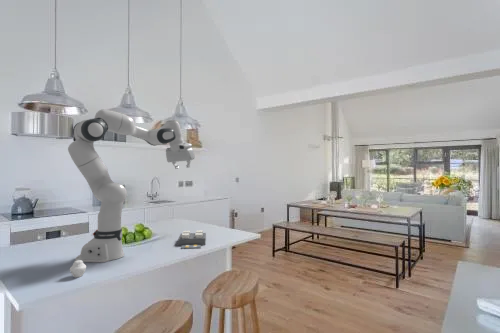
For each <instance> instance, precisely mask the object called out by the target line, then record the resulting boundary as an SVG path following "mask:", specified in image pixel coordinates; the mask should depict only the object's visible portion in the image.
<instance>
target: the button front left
mask: <svg viewBox="0 0 500 333" xmlns="http://www.w3.org/2000/svg"><path fill="white" fill-rule="evenodd" d="M184 238H189V233H183V232H182V239H184Z"/></svg>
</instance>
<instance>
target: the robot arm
mask: <svg viewBox="0 0 500 333" xmlns="http://www.w3.org/2000/svg"><path fill="white" fill-rule="evenodd" d="M107 132H111V133H114V134H118V135H124V136H130V137H134V138H137V139H140V140H143V141H145V142H146V143H147V144H149V145H150V146H154V147H155V146H161V145H167V144H169V147H167V148H166V149H165V158H166V162H168V163H172V165H173V166H174V168H175V170H177V169H179V165H178V164H177V162H186V163H187V164H186V165H185V167H186V168H187V169H188V168H191V161H192V160H195V152H194V149H193V148H192V146H193V145H192V143H188V142H186V141H184V140H185V139H184V138H183V131H182V127H181V125H180V123H179V122H178V121H177V120H167V121H165V123H164V124H163V125H162V126H160V127H159V128H155V129H153V128H152V129H146V128H143V127H140V126H137V125H136V122H135V120H134V119H133V118H132V117H131V116H129V115H127V114H125V113H123V112H117V111H115V110H111V109H99V110H98V111H97V112H96V113H95V115H94V118H89V119H84V120H81V121H79V122H77V123H76V124H74V126H73V129H72V139H73V141H72V142H71V143H70V144H69V145H68V147H67V151H68V154H69V155H70V158H71V160H72V162H73V163H74V165H75V166H76V168H77V169H78V171H79V172H80V173H81V175H82V176H83V178H84V179H85V180H86V182H87V185H88V186H89V189H90V190H91V192H92V194H93V196H94V197H95V199H96V200H97V201H99V202H100V209H99V212H98V213H97V229H95V231H93V233H92V236H93V238H92V239H90V240H89V241H88V242H87V243H85V244H84V245H83V246H82V247H81V250H80V254H79V255H77V256H76V257H75V260H74V262H75V261H77V260H82V261H83V263H106V262H110V261H114V260H117V259H122V257H124V256H125V252H124V248H123V242H122V241H123V240H122V239H123V228H122V214H123V213H122V212H123V206H124V204H125V203H124V202H125V200H126V198H127V197H128V191H127V189H126V187H124V185H122V184H121V183H119V182H114V181H113V180H112V179H111V176H110V174H109V170H108V167H107V166H106V165H105V164H106V163H104V161H103V160H102V159H101V157H100V155H99V154H98V152H97V151H96V149H95V146H94V142H99V141H101V140H102V139H103V138H104V137H105V135H106V134H107Z"/></svg>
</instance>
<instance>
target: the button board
mask: <svg viewBox="0 0 500 333" xmlns="http://www.w3.org/2000/svg"><path fill="white" fill-rule="evenodd" d="M182 233H183V232H182ZM182 233H180V234H179V237H178V239H177V246H178V247H182V245H201V246H206V242H207V232H203V235H202V238H195V234H196V232H193V233H191V232H190V236H189V238H184V239H182Z"/></svg>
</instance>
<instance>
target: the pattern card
mask: <svg viewBox="0 0 500 333" xmlns="http://www.w3.org/2000/svg"><path fill="white" fill-rule="evenodd" d="M201 247H202V245H182V246H180V249H181V250H185V249H187V250H189V249H201Z"/></svg>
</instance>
